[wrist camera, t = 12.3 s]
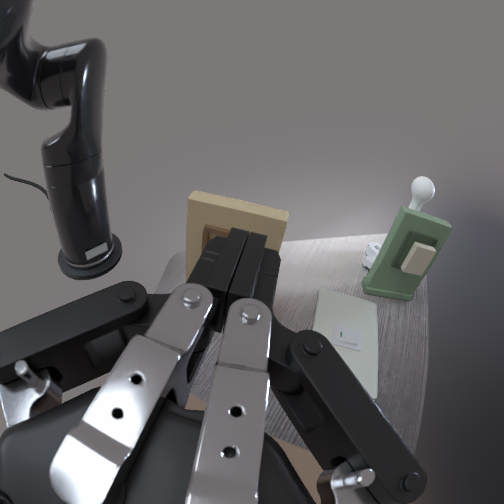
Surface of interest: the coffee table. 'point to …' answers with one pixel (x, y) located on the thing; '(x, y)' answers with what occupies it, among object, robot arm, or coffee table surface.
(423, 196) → the joystick
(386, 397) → the coffee table surface
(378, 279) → the far plate
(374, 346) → the light switch
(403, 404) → the coffee table surface
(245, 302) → the robot arm
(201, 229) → the near plate
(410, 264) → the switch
